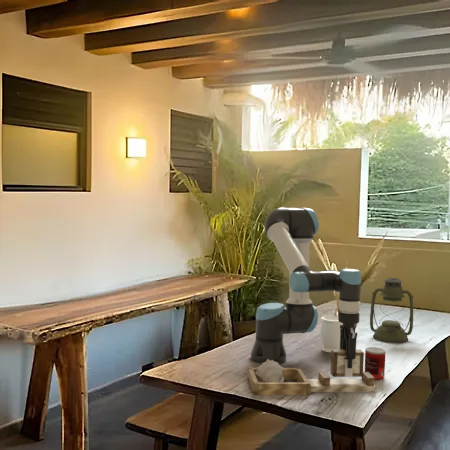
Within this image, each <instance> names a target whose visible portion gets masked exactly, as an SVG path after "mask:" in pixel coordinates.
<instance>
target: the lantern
mask: <svg viewBox="0 0 450 450" xmlns="http://www.w3.org/2000/svg"><path fill="white" fill-rule="evenodd" d="M384 281H385V282H384ZM383 282H384V285H383V287H382V288H381V287H379V288H375V289H374V291H372V297H371V303H370V313H369V314H370V315H369V326H370V327H369V328H370V330H371V332H373V335H372V338H373V340H376V341H378V342H383V343H387V344H404V342H405V343H408V342H409V338H408V336H410V335H411V334H412V332H413V328H414V299H413V298H414V295H412V292H410V291H409V290H405V289H403V286H402V283H403V282H404V281H403V280H401V279H400V278H396V277H388V278H385V279H384V280H383ZM378 292H382V293H380V294H379V296H381V297H382V300H384V301H382V302H381V303H380V305H379V306H380V307H379V308H380V311H382V309H381V306H382V305H383V303H384V302H386V301H388V302H392V303H395V304H396V305H398V306H400V307H402V305H400V304H398V303H396V302H402V300H403V299H404V298H406V295H404V294H407V296H408V299H409V318H408V323H407V325H406V327H405V329H404V328H403V326H404V324H403V323H402V322H400V321H398V320H391V319H392V317H390V315H392V314H395V313H399V312H400V311H402V310H405V307H402V308H403V309H401V310H398V311H394V312H391V313H390V315H388V314H386V313H385V312H384V311H382V313H383V314H385V316H383V317H382V319H384V318H385V317H386V316H387V317H389V318H390V320H389V319H385V320H383V321H382V322H381V320H382V319H380V320H379V326H378V323H377V320H376V315H375V314H376V313H375V304H376V301H375V300H376V296H377V294H378ZM374 322H375V325H376V327H377V328H374ZM380 322H381V323H380ZM408 327H409V328H408ZM407 328H408V331H407V332H406V330H407ZM407 341H408V342H407Z"/></svg>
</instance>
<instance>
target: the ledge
mask: <svg viewBox="0 0 450 450" xmlns="http://www.w3.org/2000/svg"><path fill="white" fill-rule="evenodd" d="M317 376H318V378H315V379H314V378H307V379H308V381H309V382H310V384H311V387H310V393H311V392H312V393H360V392H361V393H367V392H366V391H370V393H372V392H371V391H376V392H377V386H376V385H375V381H376V380H375V378H374V377H373V376H372V375H371V374H370V373H369V372H364V371H363V377H360V378H346V379H345V378H331V377H330V376H329V374H328V373H327V372H326V371H318V375H317ZM342 391H344V392H342ZM349 391H350V392H349ZM353 391H355V392H353ZM359 391H360V392H359Z"/></svg>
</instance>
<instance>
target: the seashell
mask: <svg viewBox="0 0 450 450" xmlns="http://www.w3.org/2000/svg"><path fill="white" fill-rule="evenodd" d="M256 368H257V372H256V373H255V375H256V378H257V381H258V382H285V379H284V378H283V376H282V373H283V368H284V366H281V365H280V363H278V362H275V361H273V360H271V361H270V360H269V359H267V360H266V362H264V363H261V364H260V365H259V366H257V367H256Z"/></svg>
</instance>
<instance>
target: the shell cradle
mask: <svg viewBox="0 0 450 450" xmlns="http://www.w3.org/2000/svg"><path fill="white" fill-rule="evenodd" d="M256 372H257V367H248V368H247V379H249V380H248V382H249V385H250V384H251V385H250V387H252V388H251V390H252V392H254V393H253V395H254V396H311V391H310V387H311V384H310V382H309V381H308V379H309V378H307V376H306V375H305V374H304V372H303V370H302V368H300V367H283V373H282V376H283V378H284V380H296V381H297V382H292V381H291V382H290V381H287V382H285V381H284V382H258V381H257V378H256V375H255V373H256Z"/></svg>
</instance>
